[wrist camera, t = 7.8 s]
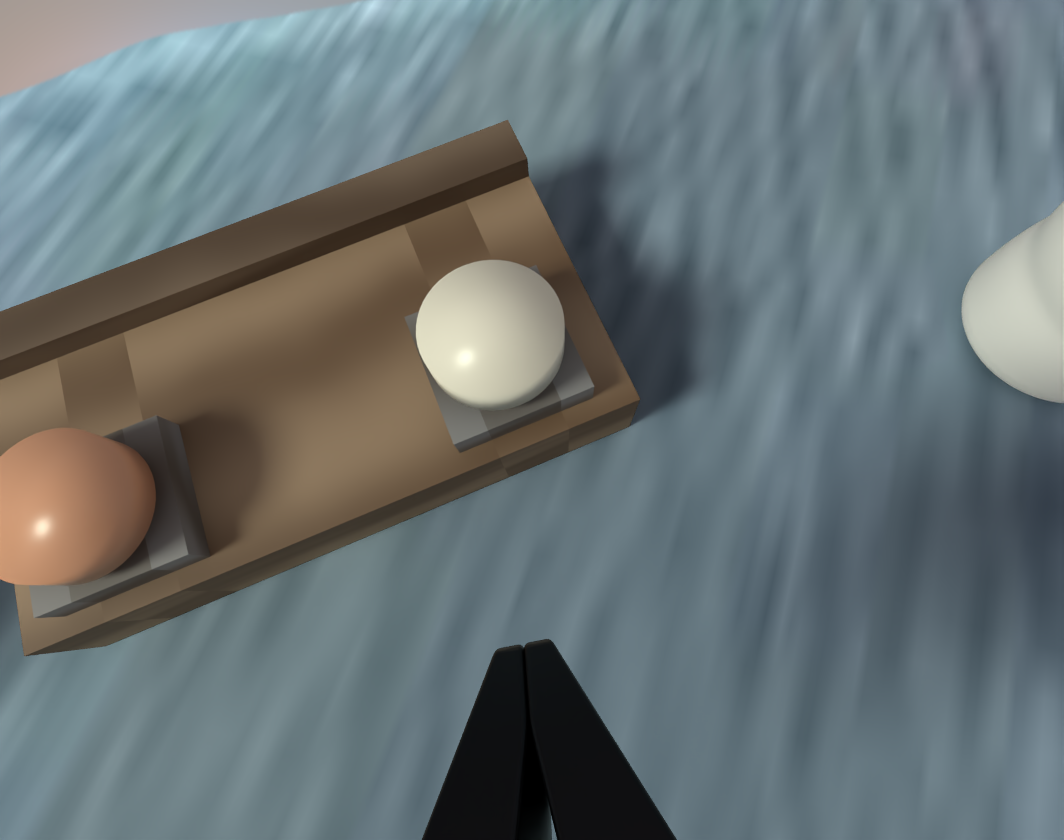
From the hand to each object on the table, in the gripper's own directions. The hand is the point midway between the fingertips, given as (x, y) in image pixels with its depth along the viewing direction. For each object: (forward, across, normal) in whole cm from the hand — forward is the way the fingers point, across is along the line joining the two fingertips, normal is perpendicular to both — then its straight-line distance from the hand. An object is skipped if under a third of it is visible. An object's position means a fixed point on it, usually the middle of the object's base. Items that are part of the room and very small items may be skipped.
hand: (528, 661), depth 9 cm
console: (+17, +7, +2) cm, 19 cm away
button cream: (+15, 0, +3) cm, 16 cm away
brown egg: (+13, +14, +5) cm, 20 cm away
